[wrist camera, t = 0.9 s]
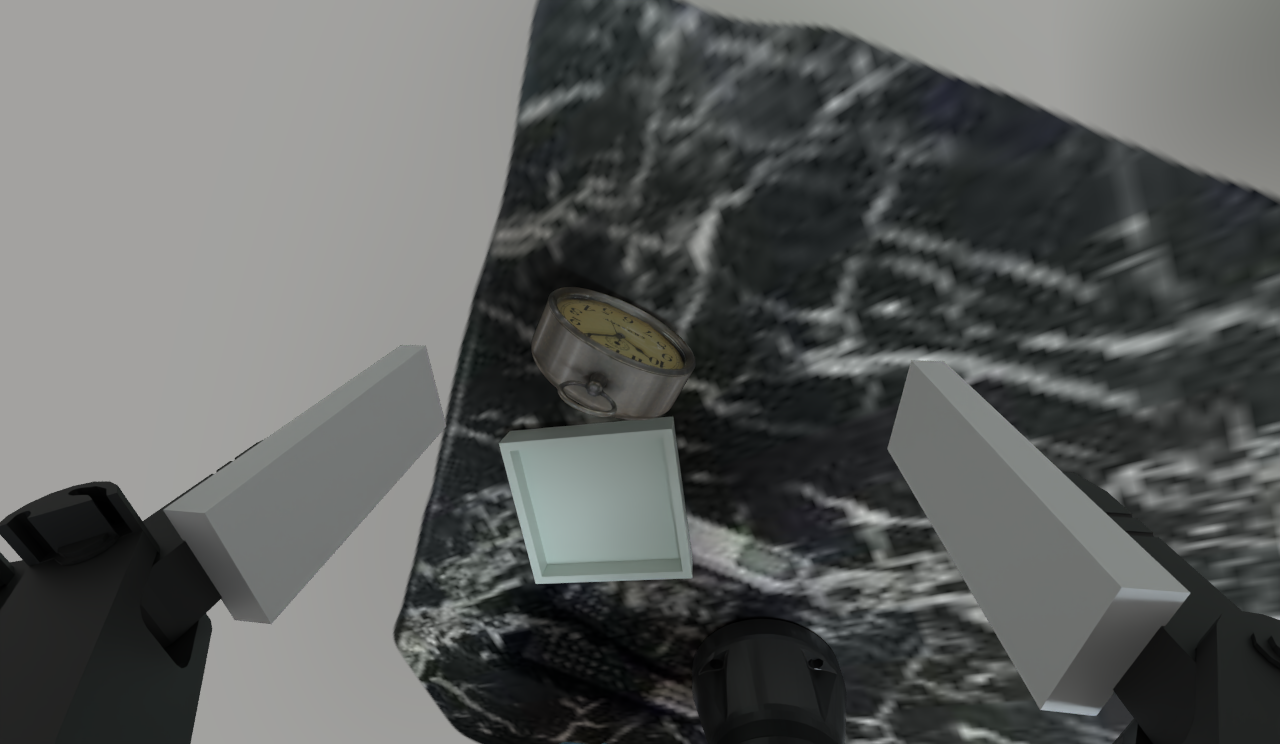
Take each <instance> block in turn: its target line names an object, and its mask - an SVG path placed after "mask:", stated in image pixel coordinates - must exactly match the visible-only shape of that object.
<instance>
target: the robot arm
mask: <svg viewBox="0 0 1280 744" xmlns="http://www.w3.org/2000/svg"><path fill="white" fill-rule="evenodd" d="M445 427H446V423H445V419H444V415H443V411H442V408H441V404H440V400H439V396H438V392H437V388H436V384H435V380H434V376H433V372H432V369H431V364H430V361H429V357H428V353H427V349H426V346H413V345H412V346H411V345H400V346H399V347H398V348H396V349H395V350H393V351H392V352H391V353H389V354H387V355H386V356H385V357H383V358H382V359H380V360H379V361H377V362H376V363H374V364H373V365H372V366H370V367H369V368H367V369H366V370H364V371H363V372H361V373H360V374H358V375H357V376H356V377H354V378H353V379H351V380H350V381H348V382H347V383H345V384H344V385H343V386H341V387H340V388H338V389H337V390H336V391H334V392H333V393H331V394H330V395H328V396H327V397H326V398H324V399H322V400H321V401H319V402H318V403H317V404H315V405H314V406H312V407H311V408H309V409H308V410H306V411H305V412H304V413H302V414H301V415H299V416H298V417H296V418H295V419H294V420H292V421H291V422H289V423H288V424H286V425H285V426H284V427H282V428H281V429H279V430H278V431H276V432H275V433H273V434H272V435H270V436H269V437H267V438H266V439H264V440H262V441H260V442H258V443H256V444H255V445H253V446H252V447H250V448H249V449H247V450H246V451H244V452H243V453H241V454H240V455H239V456H237V457H236V458H235V460H234V461H230V462H228V463H227V464H225V465H224V466H222V467H221V468H220V469H218V470H217V473H215V474H211V475H209V476H208V477H206V478H205V479H204V480H202V481H201V482H199V483H198V484H196V485H195V486H193V487H192V488H191V489H189V490H188V491H186V492H185V493H183V494H182V495H180V496H179V497H177V498H176V499H175V500H173V501H172V502H170V503H169V504H167V505H166V506H164V507H163V508H161V509H160V510H159V511H157V512H156V513H154V514H153V515H151V516H150V517H148V518H147V519H146V520H144V521H142V520H141V519H140V517H139V516H138V514H137V513H136V512H135V510H134V509H133V507H132V506H131V504H130V503H129V502H128V500H127V498H125V495H124V494H123V493H122V491H121V490H120V488H119V487H118V486H117V485H116V484H114V483H111V482H91V483H86V484H81V485H76V486H72V487H69V488H66V489H63V490H60V491H57V492H54V493H51V494H49V495H47V496H44V497H42V498H40V499H38V500H35V501H33V502H31V503H29V504H27V505H25V506H23V507H22V508H20V509H18V510H17V511H15V512H13V513H12V514H10V515H8V516H7V517H6V518H5V519H3V520H2V521H1V522H0V535H1V536H2V537H3V538H4V539H5V540H6V541H7V542H8V544H9V545H10V546H11V547H12V548H13V549H14V550H15V551H16V553H17V554H18V555H19V556H20V557H21V558H22V559H23V560H22V561H16V562H9V561H8V560H7V559H6V558H5V557H4V556H3V555H2V554H1V553H0V744H190V743H191V737H192V732H193V727H194V722H195V716H196V711H197V706H198V701H199V695H200V690H201V685H202V680H203V674H204V669H205V664H206V658H207V653H208V648H209V642H210V637H211V632H212V625H211V620H210V619H209V617H208V616H207V615H206V612H207V611H208V610H209V609H211V607H212V606H214V605H215V604H216V603H217V602H218V601H219V600H220V599H221V600H222V601H223V603H224V604H225V606H226V607H227V609H228V610H229V612H230V613H231V615H232V616H233V618H234V619H235V620H240V621H249V622H258V623H267V624H272V623H273V621H274V620H275V619H276V618H277V617H278V616H279V615H280V613H281V612H282V611H283V610H284V609H285V608H286V607H287V606H288V604H289V603H290V602H291V601H292V600H293V599H294V598H295V597H296V595H297V594H298V593H299V592H300V591H301V590H302V589H303V588H304V586H305V585H306V584H307V583H308V582H309V581H310V580H311V579H312V577H313V576H314V575H315V574H316V573H317V572H318V570H319V569H320V568H321V567H322V566H323V565H324V564H325V563H326V561H327V560H328V559H329V558H330V557H331V556H332V555H333V554H334V553H335V551H336V550H337V549H338V548H339V547H340V546H341V545H342V543H343V542H344V541H345V540H346V539H347V538H348V537H349V536H350V534H351V533H352V532H353V531H354V530H355V529H356V528H357V527H358V525H359V524H360V523H361V522H362V521H363V520H364V519H365V518H366V516H367V515H368V514H369V513H370V512H371V511H372V510H373V509H374V507H375V506H376V505H377V504H378V503H379V502H380V501H381V499H382V498H383V497H384V496H385V495H386V494H387V493H388V492H389V490H390V489H391V488H392V487H393V486H394V485H395V484H396V483H397V481H398V480H399V479H400V478H401V477H402V476H403V475H404V473H405V472H406V471H407V470H408V469H409V468H410V467H411V466H412V464H413V463H414V462H415V461H416V460H417V459H418V458H419V457H420V455H421V454H422V453H423V452H424V451H425V450H426V449H427V448H428V446H429V445H430V444H431V443H432V442H433V440H435V438H436V437H437V436H438V435H439V434H440V433H441V432H442V431H443V429H444V428H445ZM888 451H889V453H890V454H891V456H892V458H893V459H894V461H895V463H896V465H897V466H898V468H899V470H900V471H901V473H902V475H903V476H904V478H905V480H906V482H907V483H908V485H909V487H910V488H911V490H912V492H913V493H914V495H915V497H916V499H917V500H918V502H919V504H920V505H921V507H922V509H923V511H924V512H925V514H926V516H927V517H928V519H929V521H930V522H931V524H932V526H933V528H934V529H935V531H936V533H937V534H938V536H939V538H940V539H941V541H942V543H943V545H944V546H945V548H946V550H947V551H948V553H949V555H950V557H951V558H952V560H953V562H954V563H955V565H956V567H957V568H958V570H959V572H960V574H961V575H962V577H963V579H964V580H965V582H966V584H967V585H968V587H969V589H970V591H971V592H972V594H973V596H974V597H975V599H976V601H977V603H978V604H979V606H980V608H981V609H982V611H983V613H984V614H985V616H986V618H987V620H988V621H989V623H990V625H991V626H992V628H993V630H994V632H995V633H996V635H997V637H998V638H999V640H1000V642H1001V643H1002V645H1003V647H1004V649H1005V650H1006V652H1007V654H1008V655H1009V657H1010V659H1011V660H1012V662H1013V664H1014V666H1015V667H1016V669H1017V671H1018V672H1019V674H1020V676H1021V678H1022V679H1023V681H1024V683H1025V684H1026V686H1027V688H1028V689H1029V691H1030V693H1031V695H1032V696H1033V698H1034V700H1035V701H1036V703H1037V705H1038V706H1039V708H1040V710H1047V711H1056V712H1065V713H1074V714H1083V715H1092V716H1096V715H1097V714H1098V713H1099V711H1100V710H1101V709H1102V707H1103V706H1104V705H1105V704H1106V702H1107V701H1108V700H1109V698H1110V697H1111V696H1112V694H1113V693H1114V692H1115V693H1116V694H1117V696H1118V697H1119V699H1120V700H1121V701H1122V703H1123V704H1124V705H1125V707H1126V708H1127V709H1128V711H1129V712H1130V713H1131V715H1132V716H1133V717H1134V719H1133V720H1132V721H1131V723H1130V724H1129V725H1128V726H1127V727H1126V729H1125V730H1124V731H1123V732H1122V733H1121V734H1120V736H1119V737H1118V738H1117V739H1116V740H1115V742H1114V743H1113V744H1280V620H1277V619H1275V618H1272V617H1269V616H1266V615H1263V614H1257V613H1250V612H1244V611H1241V610H1240V609H1239V608H1238V607H1237V606H1236V605H1235V604H1233V603H1232V602H1231V601H1230V600H1229V599H1228V598H1227V597H1226V596H1224V595H1223V594H1222V593H1221V592H1220V591H1219V590H1218V589H1216V588H1215V587H1214V586H1213V585H1212V584H1211V583H1210V582H1209V581H1207V580H1206V579H1205V578H1204V577H1203V576H1202V575H1201V574H1199V573H1198V572H1197V571H1196V570H1195V569H1194V568H1193V567H1192V566H1190V565H1189V564H1188V563H1187V562H1186V561H1185V560H1184V559H1182V558H1181V557H1180V556H1179V555H1178V554H1177V553H1176V552H1175V551H1173V550H1172V549H1171V548H1170V547H1169V546H1168V545H1167V544H1165V543H1164V542H1163V541H1162V540H1161V539H1160V538H1159V537H1154V536H1153V532H1152V531H1151V530H1150V529H1149V528H1147V527H1146V526H1145V525H1144V524H1143V523H1142V522H1141V521H1139V520H1138V519H1137V518H1132V513H1130V512H1129V511H1128V510H1127V509H1126V508H1125V507H1124V506H1122V505H1121V504H1120V503H1119V502H1118V501H1117V500H1116V499H1115V498H1113V497H1112V496H1111V495H1110V494H1109V493H1108V492H1106V491H1105V490H1103V489H1101V488H1100V487H1098V486H1096V485H1094V484H1093V483H1091V482H1089V481H1088V480H1086V479H1084V478H1082V477H1081V476H1079V475H1077V474H1076V473H1073V472H1061V471H1060V470H1059V469H1058V468H1057V467H1056V466H1055V465H1054V464H1053V463H1052V462H1051V461H1050V460H1048V459H1047V458H1046V457H1045V456H1044V455H1043V454H1042V453H1041V452H1040V451H1039V450H1038V449H1037V448H1036V447H1035V446H1034V445H1032V444H1031V443H1030V442H1029V441H1028V440H1027V439H1026V438H1025V437H1024V436H1023V435H1022V434H1021V433H1020V432H1019V431H1018V430H1016V429H1015V428H1014V427H1013V426H1012V425H1011V424H1010V423H1009V422H1008V421H1007V420H1006V419H1005V418H1004V417H1003V416H1002V415H1001V414H999V413H998V412H997V411H996V410H995V409H994V408H993V407H992V406H991V405H990V404H989V403H988V402H987V401H986V400H985V399H983V398H982V397H981V396H980V395H979V394H978V393H977V392H976V391H975V390H974V389H973V388H972V387H971V386H970V385H969V384H967V383H966V382H965V381H964V380H963V379H962V378H961V377H960V376H959V375H958V374H957V373H956V372H955V371H954V370H953V369H952V368H950V367H949V366H948V365H947V364H946V363H945V362H944V361H915V360H911V364H910V368H909V371H908V375H907V379H906V383H905V386H904V390H903V394H902V397H901V401H900V405H899V408H898V412H897V416H896V420H895V423H894V427H893V431H892V434H891V438H890V442H889V445H888ZM692 692H693V698H694V702H695V705H696V708H697V711H698V714H699V717H700V721H701V724H702V727H703V730H704V733H705V736H706V739H707V742H708V744H845V735H846V688H845V683H844V679H843V676H842V673H841V670H840V667H839V664H838V661H837V659H836V657H835V655H834V653H833V651H832V650H831V649H830V647H829V646H828V645H827V644H826V643H825V642H824V641H823V640H822V639H821V638H819V637H818V636H817V635H815V634H814V633H812V632H811V631H809V630H807V629H805V628H803V627H801V626H798V625H796V624H793V623H789V622H785V621H780V620H774V619H751V620H744V621H739V622H736V623H732V624H730V625H727V626H725V627H722V628H721V629H719V630H717V631H715V632H714V633H712V634H711V635H710V636H709V637H708V638H706V639H705V640H704V641H703V643H702V644H701V645H700V647H699V648H698V650H697V652H696V654H695V656H694V659H693V664H692ZM560 744H583V743H574V742H563V743H560ZM602 744H607V743H602Z"/></svg>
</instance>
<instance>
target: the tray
mask: <svg viewBox="0 0 1280 744" xmlns="http://www.w3.org/2000/svg"><path fill="white" fill-rule="evenodd" d="M499 446H500V450H501V453H502V457H503V461H504V465H505V469H506V472H507V476H508V480H509V484H510V488H511V491H512V495H513V499H514V503H515V507H516V510H517V514H518V518H519V522H520V526H521V529H522V533H523V537H524V541H525V545H526V548H527V552H528V556H529V560H530V564H531V567H532V571H533V575H534V579H535V583H536V584H547V583H574V582H602V581H630V580H658V579H686V578H692V561H693V559H692V552H691V544H690V537H689V530H688V522H687V515H686V507H685V500H684V492H683V485H682V477H681V470H680V463H679V455H678V448H677V440H676V433H675V425H674V418H673V417H661V418H653V419H649V420H628V421H616V422H605V423H594V424H583V425H572V426H560V427H549V428H538V429H527V430H516V431H509V432H508V434H507V435H506V436H505V437H504V438H503V439H502V441H501V442H500V443H499Z"/></svg>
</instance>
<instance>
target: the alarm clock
mask: <svg viewBox="0 0 1280 744" xmlns="http://www.w3.org/2000/svg"><path fill="white" fill-rule="evenodd" d="M531 350H532V355H533V358H534V360H535V362H536V364H537V366H538V368H539V369H540V371H541V372H542V373H543V375H544V376H545V377H546V378H547V379H548V380H549V381H550V382H551V383H552V384H553V385H554V386H555V387H556V388H557V389H558V393H559V395H560V397H561V398H562V400H563V401H564V402H565V403H567V404H569V405H570V406H571V407H573V408H575V409H577V410H579V411H582V412H584V413H587V414H590V415H595V416H601V417H607V416H612V417H616V418H620V419H626V420H649V419H653V418H656V417H659V416H661V415H663V414H665V413H666V412H667V411H669V410H670V408H671V407H672V406H673V404H674V402H675V401H676V399H677V397H678V395H679V394H680V392H681V390H682V389H683V387H684V385H685V383H686V382H687V380H688V378H689V377H690V375H691V373H692V372H693V370H694V369H695V366H696V365H695V364H696V362H695V357H694V355H693V353H692V351H691V349H690V348H689V346H688V345H687V344H686V343H685V342H684V340H683V339H682V338H681V337H680V336H679V335H677V334H676V333H675V332H674V331H673V330H671V329H670V328H669V327H668V326H666V325H665V324H663V323H662V322H660V321H659V320H658V319H656V318H655V317H653V316H652V315H650V314H648V313H646V312H645V311H643V310H641V309H639V308H637V307H635V306H633V305H631V304H629V303H627V302H625V301H622V300H620V299H618V298H615V297H612V296H610V295H607V294H604V293H600V292H597V291H593V290H589V289H585V288H579V287H563V288H559V289H557V290H554V291H553V292H552V293H550V295H549V297H548V301H547V304H546V306H545V309H544V311H543V314H542V316H541V318H540V321H539V323H538V326H537V328H536V331H535V333H534V336H533V339H532V342H531ZM570 398H571V399H573V400H574V401H576V402H578V403H580V404H582V405H583V406H582V405H579V404H578V403H576V402H574V401H573V400H571V399H570ZM584 406H585V407H584Z"/></svg>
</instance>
